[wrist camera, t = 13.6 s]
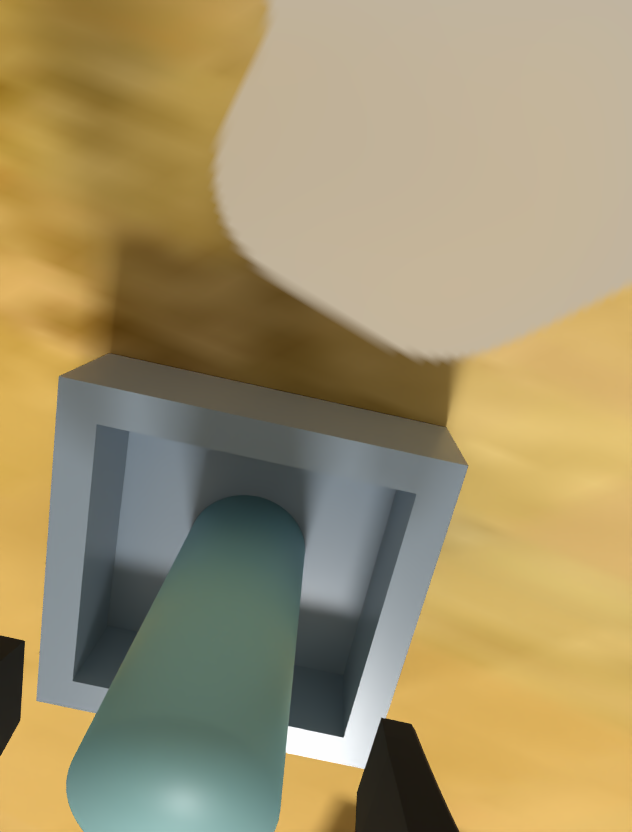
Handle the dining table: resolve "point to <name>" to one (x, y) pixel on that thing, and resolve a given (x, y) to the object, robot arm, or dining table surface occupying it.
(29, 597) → the dining table surface
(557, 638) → the dining table surface
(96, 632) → the tray
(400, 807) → the robot arm
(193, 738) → the dowel
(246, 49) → the dining table surface
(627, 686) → the dining table surface
